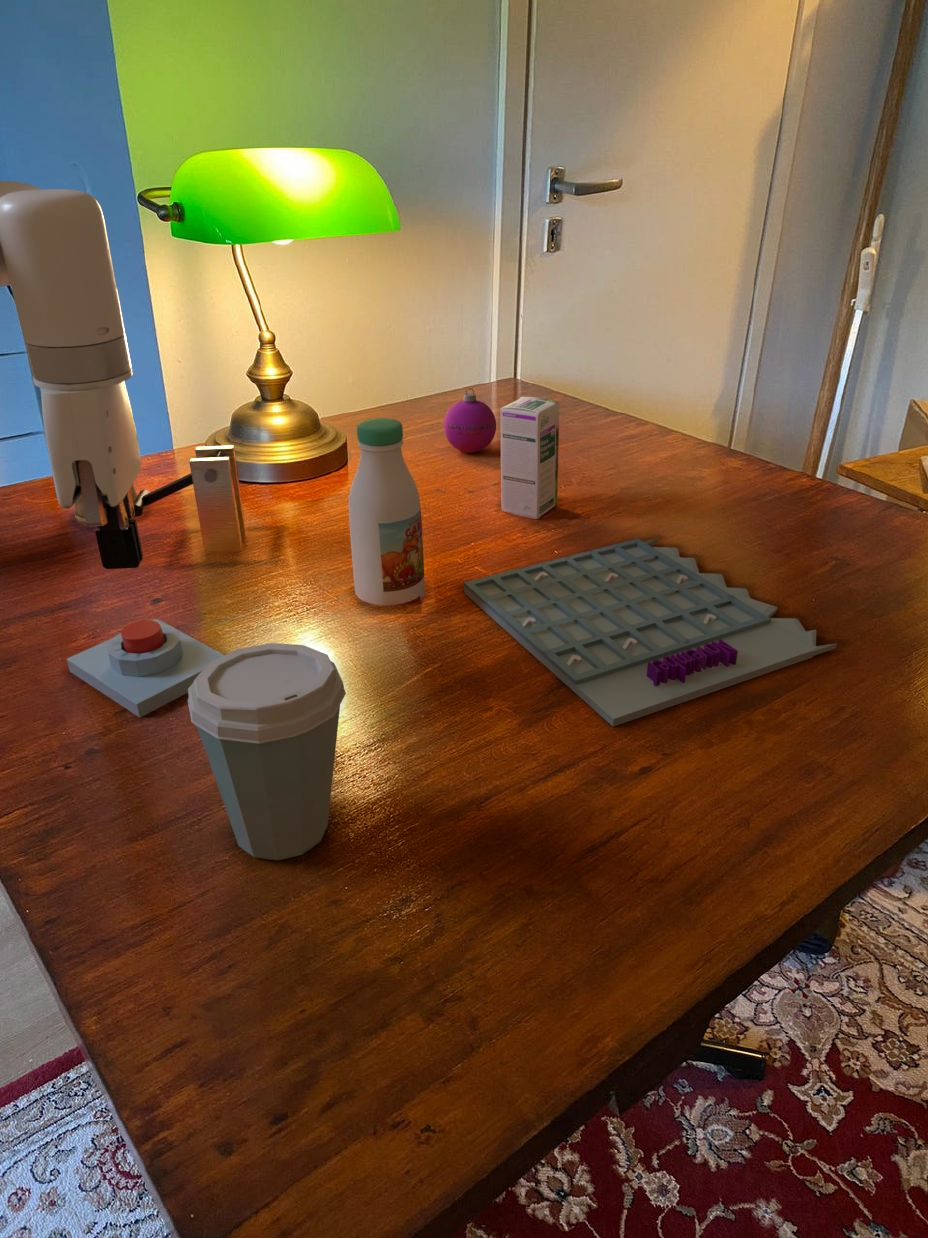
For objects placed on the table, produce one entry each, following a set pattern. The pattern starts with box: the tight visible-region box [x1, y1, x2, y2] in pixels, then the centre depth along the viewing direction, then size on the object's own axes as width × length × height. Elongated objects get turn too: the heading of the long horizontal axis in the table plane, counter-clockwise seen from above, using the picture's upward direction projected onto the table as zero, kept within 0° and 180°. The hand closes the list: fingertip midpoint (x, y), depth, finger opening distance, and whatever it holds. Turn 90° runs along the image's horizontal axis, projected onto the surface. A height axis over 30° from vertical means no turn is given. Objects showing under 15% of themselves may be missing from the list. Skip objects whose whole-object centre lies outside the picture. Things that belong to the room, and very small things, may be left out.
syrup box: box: [499, 395, 560, 520], centre depth 119 cm, size 6×6×14 cm
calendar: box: [463, 537, 838, 727], centre depth 96 cm, size 27×29×2 cm
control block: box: [66, 618, 225, 718], centre depth 87 cm, size 12×10×4 cm
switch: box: [133, 451, 224, 518], centre depth 107 cm, size 12×5×2 cm, turn 95°
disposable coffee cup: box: [187, 642, 347, 861], centre depth 65 cm, size 11×11×15 cm
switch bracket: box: [188, 445, 247, 554], centre depth 109 cm, size 12×10×13 cm
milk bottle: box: [348, 417, 425, 606], centre depth 96 cm, size 8×8×20 cm
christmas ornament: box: [443, 387, 497, 454], centre depth 141 cm, size 8×8×10 cm
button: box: [120, 619, 164, 654], centre depth 86 cm, size 4×4×2 cm
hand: (123, 564), depth 82 cm, fingers closed
